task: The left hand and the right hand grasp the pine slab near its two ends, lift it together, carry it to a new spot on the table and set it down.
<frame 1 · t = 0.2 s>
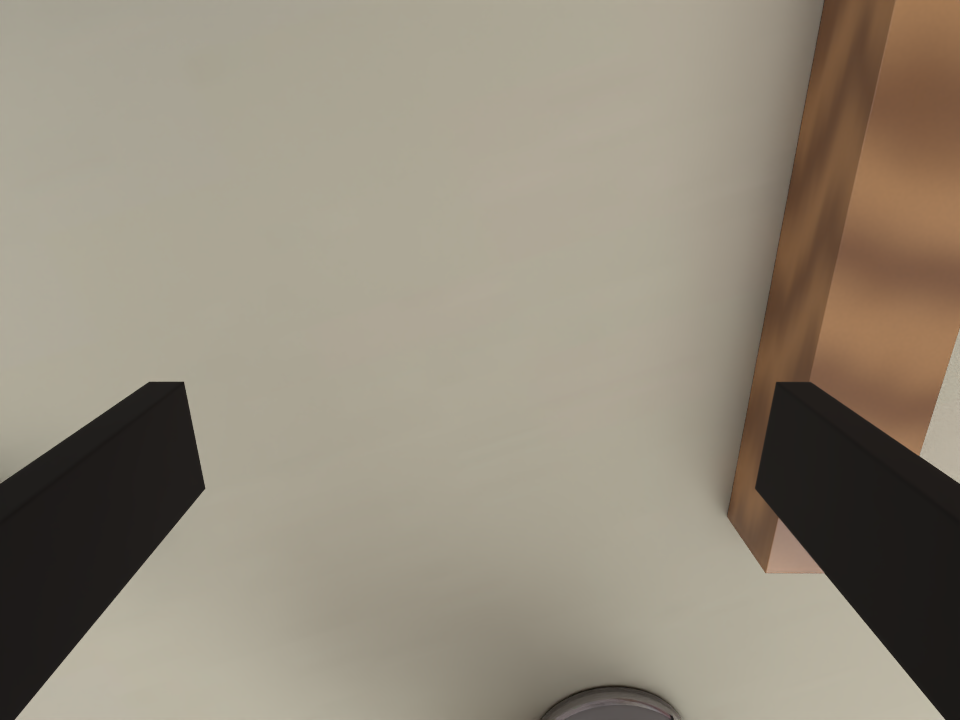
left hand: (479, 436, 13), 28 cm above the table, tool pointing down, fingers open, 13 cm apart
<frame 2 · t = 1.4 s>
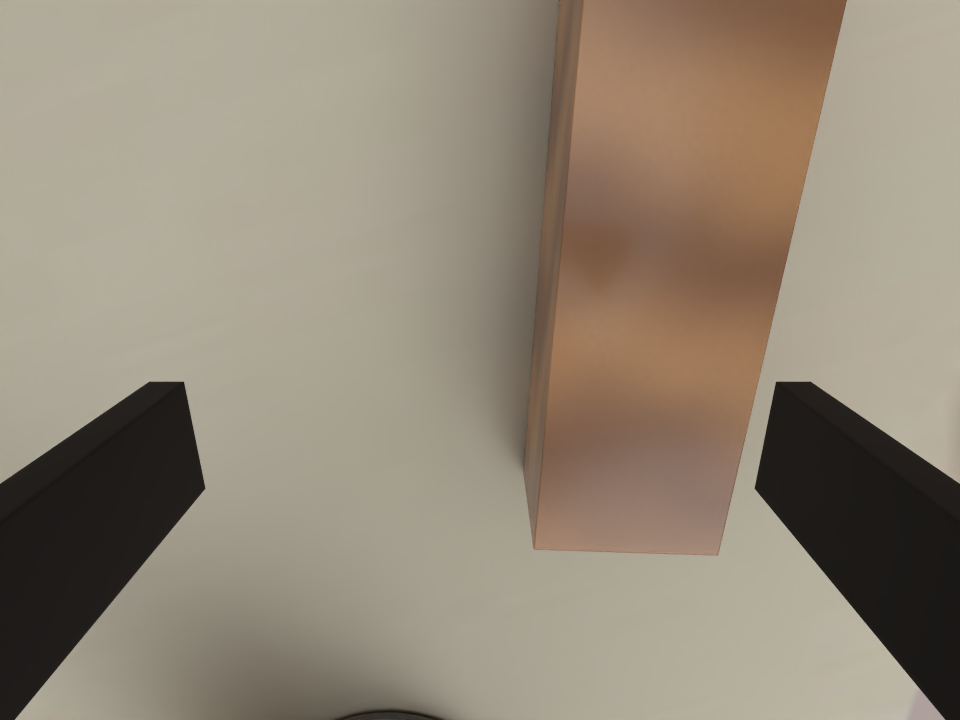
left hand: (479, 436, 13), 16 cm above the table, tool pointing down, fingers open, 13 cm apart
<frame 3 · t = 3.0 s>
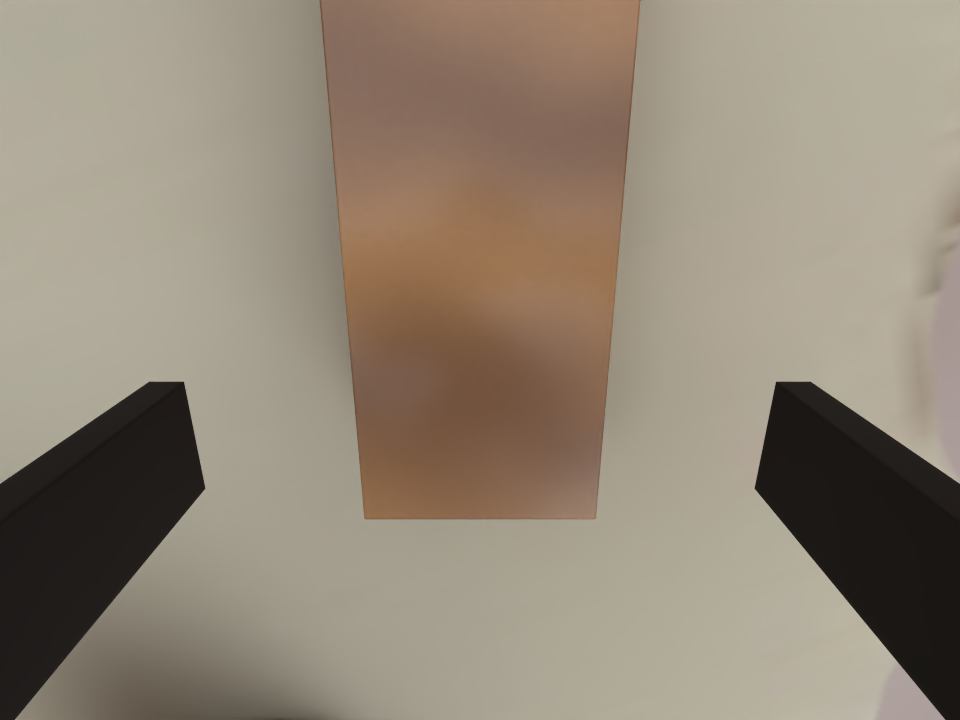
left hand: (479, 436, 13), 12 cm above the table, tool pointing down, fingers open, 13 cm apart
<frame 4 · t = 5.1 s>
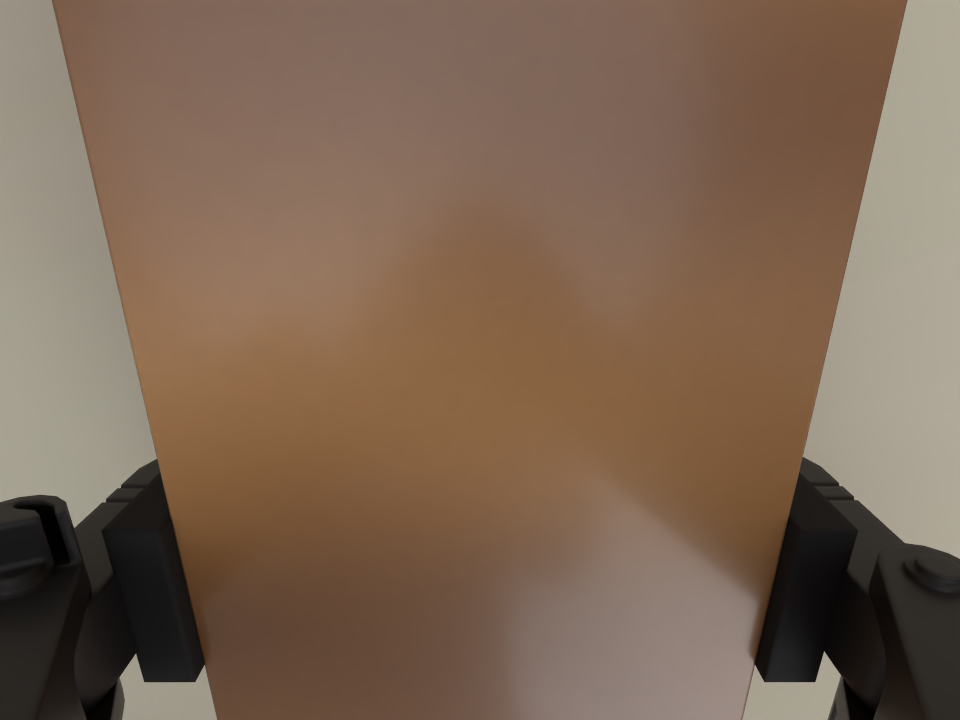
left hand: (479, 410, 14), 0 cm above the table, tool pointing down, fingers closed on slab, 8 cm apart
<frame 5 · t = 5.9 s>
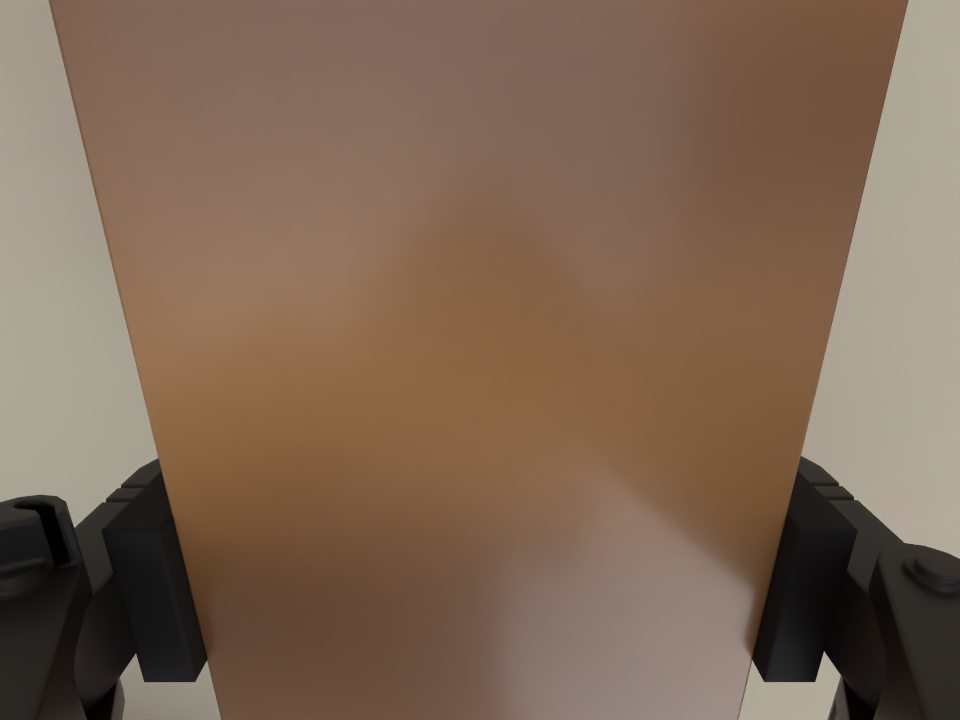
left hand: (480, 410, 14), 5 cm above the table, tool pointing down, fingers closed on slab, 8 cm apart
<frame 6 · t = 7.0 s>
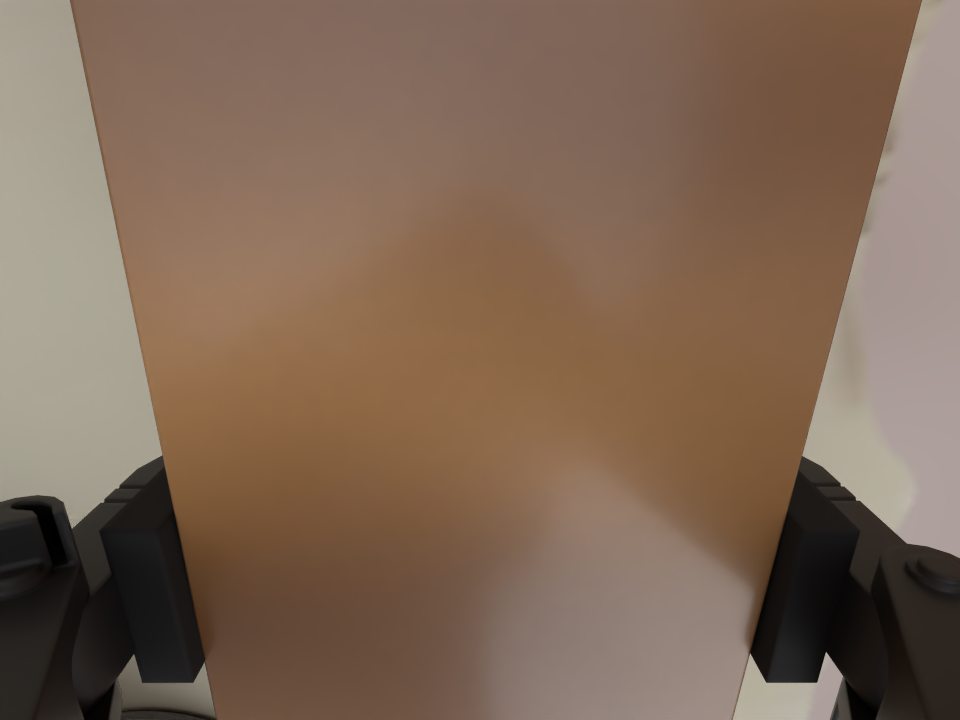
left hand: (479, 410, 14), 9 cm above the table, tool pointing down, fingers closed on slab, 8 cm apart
when the left hand's fingers open (1 cm above the table, at t = 9.3 s): slab stays where it is, on the table.
when the right hand's fingers open (1 cm above the table, at t = 9.3 s): slab stays where it is, on the table.
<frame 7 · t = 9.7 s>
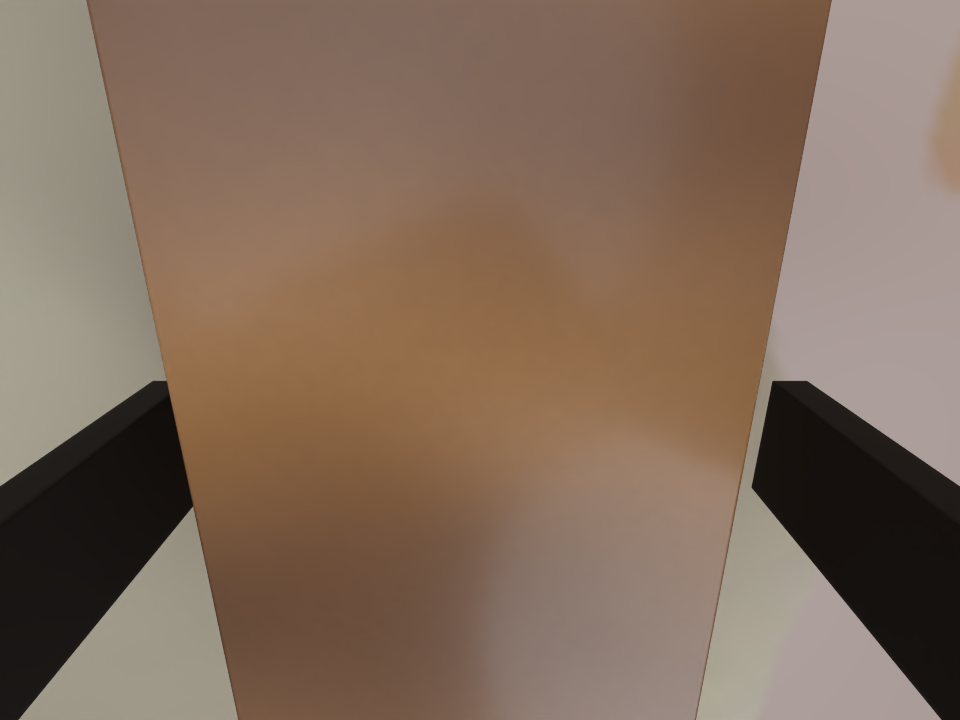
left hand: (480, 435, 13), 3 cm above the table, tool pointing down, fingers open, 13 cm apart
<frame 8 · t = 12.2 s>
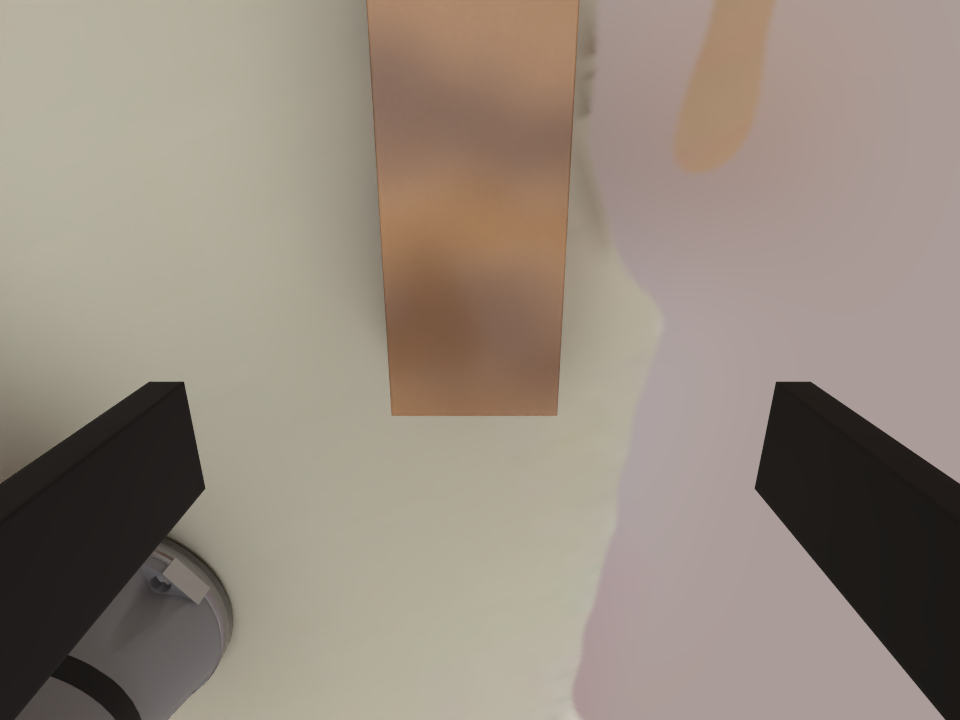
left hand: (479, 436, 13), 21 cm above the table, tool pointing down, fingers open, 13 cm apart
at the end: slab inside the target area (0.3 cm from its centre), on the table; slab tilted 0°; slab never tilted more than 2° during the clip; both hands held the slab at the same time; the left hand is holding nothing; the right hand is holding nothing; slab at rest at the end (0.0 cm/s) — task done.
